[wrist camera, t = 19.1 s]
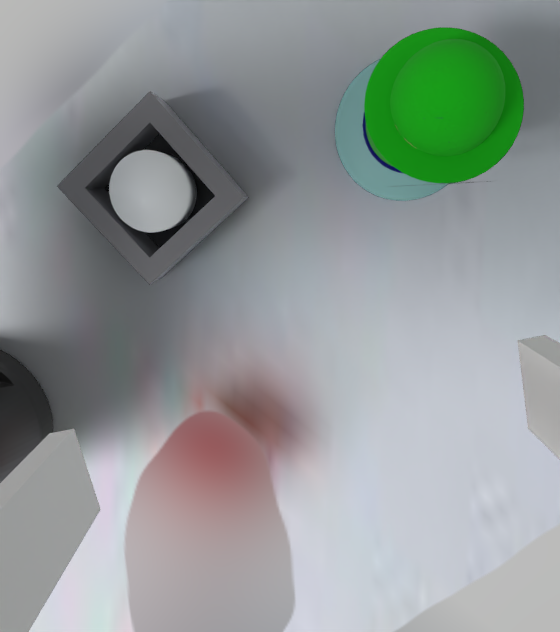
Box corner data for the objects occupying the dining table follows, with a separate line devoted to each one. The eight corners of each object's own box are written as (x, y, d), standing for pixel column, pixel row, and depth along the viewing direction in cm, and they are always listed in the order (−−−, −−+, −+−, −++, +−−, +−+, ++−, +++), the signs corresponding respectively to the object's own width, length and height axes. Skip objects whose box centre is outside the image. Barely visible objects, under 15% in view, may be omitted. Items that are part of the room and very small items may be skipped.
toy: (348, 189, 42) (372, 187, 28) (346, 73, 40) (370, 5, 26) (461, 183, 42) (545, 178, 27) (464, 65, 40) (556, -8, 25)
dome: (159, 245, 43) (148, 248, 40) (107, 188, 42) (92, 188, 39) (212, 195, 42) (205, 195, 39) (159, 136, 41) (149, 132, 38)
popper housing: (162, 276, 45) (149, 284, 41) (79, 186, 44) (56, 186, 40) (248, 197, 43) (243, 197, 39) (164, 100, 42) (150, 91, 38)
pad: (345, 211, 43) (345, 211, 43) (325, 68, 41) (325, 67, 40) (481, 187, 42) (483, 187, 42) (469, 40, 40) (471, 39, 40)
